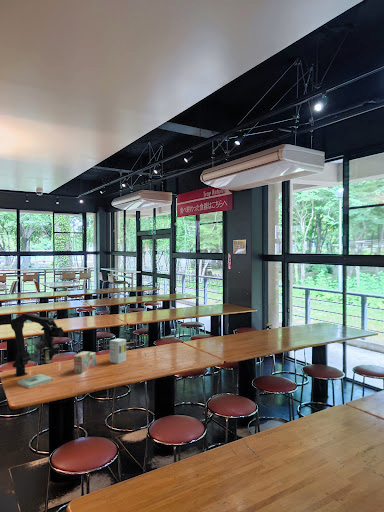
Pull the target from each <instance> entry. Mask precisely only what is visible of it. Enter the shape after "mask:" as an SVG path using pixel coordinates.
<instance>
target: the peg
mask: <svg viewBox="0 0 384 512" xmlns="http://www.w3.org/2000/svg"><path fill="white" fill-rule="evenodd" d="M47 351H49V350H47ZM47 351H45V355H44V357H45V359H44V360H45V362H44V363H45V364H52V363H53V359H52V360H49V353H48V352H47Z"/></svg>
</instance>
